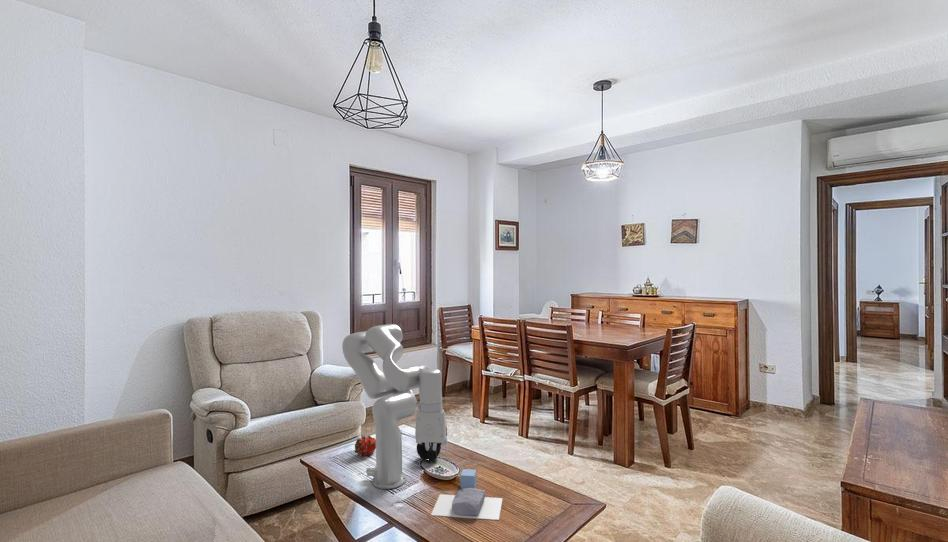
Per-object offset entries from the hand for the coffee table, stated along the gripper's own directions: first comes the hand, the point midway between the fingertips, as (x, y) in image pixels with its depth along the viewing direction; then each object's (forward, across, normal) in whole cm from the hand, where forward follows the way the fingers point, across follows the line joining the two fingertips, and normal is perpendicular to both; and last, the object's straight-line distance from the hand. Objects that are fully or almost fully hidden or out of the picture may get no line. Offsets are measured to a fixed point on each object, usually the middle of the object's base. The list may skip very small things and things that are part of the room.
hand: (432, 460), depth 151 cm
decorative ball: (+15, -10, +34) cm, 39 cm away
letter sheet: (+15, +12, 0) cm, 19 cm away
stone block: (+15, +12, 0) cm, 19 cm away
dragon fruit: (+15, -38, +36) cm, 55 cm away
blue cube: (+15, +10, +14) cm, 23 cm away
